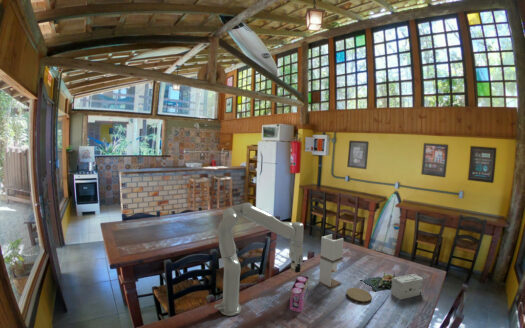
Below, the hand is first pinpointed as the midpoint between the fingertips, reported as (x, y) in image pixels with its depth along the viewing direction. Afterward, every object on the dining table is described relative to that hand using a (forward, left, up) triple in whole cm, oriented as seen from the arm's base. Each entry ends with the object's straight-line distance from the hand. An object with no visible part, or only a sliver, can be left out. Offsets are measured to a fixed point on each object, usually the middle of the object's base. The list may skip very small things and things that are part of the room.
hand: (295, 270), depth 171 cm
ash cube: (0, 0, 0) cm, 0 cm away
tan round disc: (+44, -10, -22) cm, 50 cm away
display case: (+36, +11, -21) cm, 43 cm away
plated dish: (+76, -2, -22) cm, 80 cm away
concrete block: (+77, -19, -21) cm, 82 cm away
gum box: (+3, -1, -21) cm, 22 cm away
